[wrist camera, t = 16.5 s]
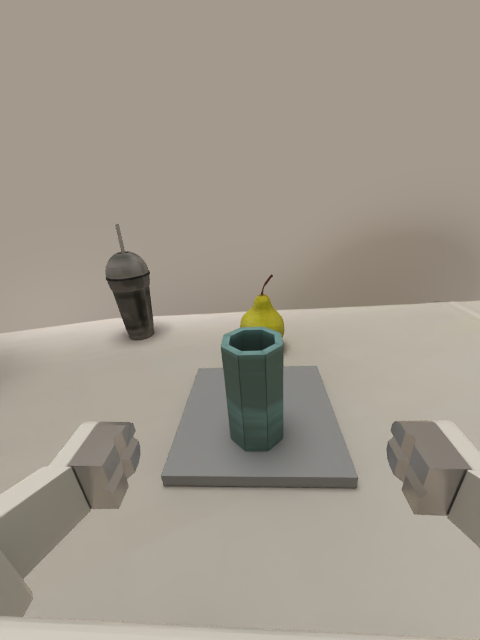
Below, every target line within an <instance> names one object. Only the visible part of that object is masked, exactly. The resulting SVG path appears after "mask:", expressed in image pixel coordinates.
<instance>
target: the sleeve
mask: <svg viewBox="0 0 480 640" xmlns="http://www.w3.org/2000/svg"><path fill="white" fill-rule="evenodd" d="M221 352H222V361H223V371H224V380H225V390H226V399H227V409H228V418H229V428H230V438H231V439H232V440H233V441H234V442H235V443H236V444H237V445H238V446H240V447H241V448H242V449H243V450H244V451H246V452H268V451H270V450H271V449H272V448H273V447H274V446H275V445H276V444H278V443H279V442H280V441H281V440H282V439H283V340H282V335H281V333H279V332H277V331H274V330H271V329H269V328H266V327H242V328H239V329H236V330H234V331H232V332H229V333H227V334H225V335H224V336H223V340H222V344H221Z"/></svg>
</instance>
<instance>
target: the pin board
mask: <svg viewBox="0 0 480 640" xmlns="http://www.w3.org/2000/svg"><path fill="white" fill-rule="evenodd" d="M161 477H162V481H163V485H164V486H245V487H331V488H356V487H357V481H358V476H357V474H356V471H355V468H354V465H353V463H352V460H351V457H350V455H349V452H348V449H347V447H346V444H345V441H344V438H343V436H342V433H341V430H340V428H339V425H338V422H337V419H336V417H335V414H334V411H333V409H332V406H331V403H330V400H329V398H328V395H327V392H326V390H325V387H324V384H323V381H322V379H321V376H320V373H319V371H318V368H317V366H289V367H283V439H282V440H281V441H280V442H279V443H278V444H276V445H275V446H274V447H273V448H272V449H271V450H270V451H268V452H246V451H244V450H243V449H242V448H241V447H240V446H238V445H237V444H236V443H235V442H234V441H233V440H232V439H231V438H230V428H229V418H228V409H227V399H226V390H225V380H224V371H223V368H202V369H198V372H197V375H196V378H195V381H194V384H193V387H192V389H191V392H190V395H189V398H188V401H187V404H186V406H185V409H184V412H183V415H182V418H181V421H180V424H179V426H178V429H177V432H176V435H175V438H174V441H173V444H172V446H171V449H170V452H169V455H168V458H167V461H166V463H165V466H164V469H163V472H162V475H161Z"/></svg>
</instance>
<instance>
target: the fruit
mask: <svg viewBox="0 0 480 640" xmlns="http://www.w3.org/2000/svg"><path fill="white" fill-rule="evenodd" d="M272 276H273V275H271V276H270V277H269V278H268V279H267V281H266V282H265V284H264V286H265V285H266V284H267V282H268V281H269V280H270V278H271V277H272ZM264 286H263V289H264ZM263 289H262V292H261V295H258V296H257V297H256V299H255V301H254V305H253V307H252V308H251V309H250V310H249V311H248V312H247V313H246V314H244V316H243V317H242V319H241V325H240V328H242V327H266V328H269V329H271V330H274V331H277V332H279V333H281V335H282V337H283V335H284V322H283V319H282V317H281V316H280V314H279V313H278V312H277V311H276V310H275V309H274V308H273V306H272V305H271V302H270V299H269V297H268V296H267V295H264V294H263Z"/></svg>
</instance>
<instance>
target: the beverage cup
mask: <svg viewBox="0 0 480 640" xmlns="http://www.w3.org/2000/svg"><path fill="white" fill-rule="evenodd" d="M116 230H117V234H118V239H119V243H120V247H121V252H119V253H116V254H114V255H113V256H112V257H111V258H110V259H109V261H108V263H107V266H106V280H107V281H108V284H109V286H110V288H111V290H112V291H113V294H114V296H115V299H116V302H117V305H118V308H119V311H120V313H121V316H122V319H123V322H124V324H125V327H126V330H127V332H128V334H129V337H130V339H132V340H141V339H145V338H148V337H150V336H152V335H153V334H154V328H153V326H154V325H153V315H152V307H151V298H150V290H149V283H150V281H149V280H150V279H149V274H150V272H149V270H148V267H147V265H146V263H145V262H144V260H143V259H142V258H141V257H140V256H138V255H137V254H135V253H132V252H125V250H124V246H123V241H122V237H121V233H120V228H119V224H116Z"/></svg>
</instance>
